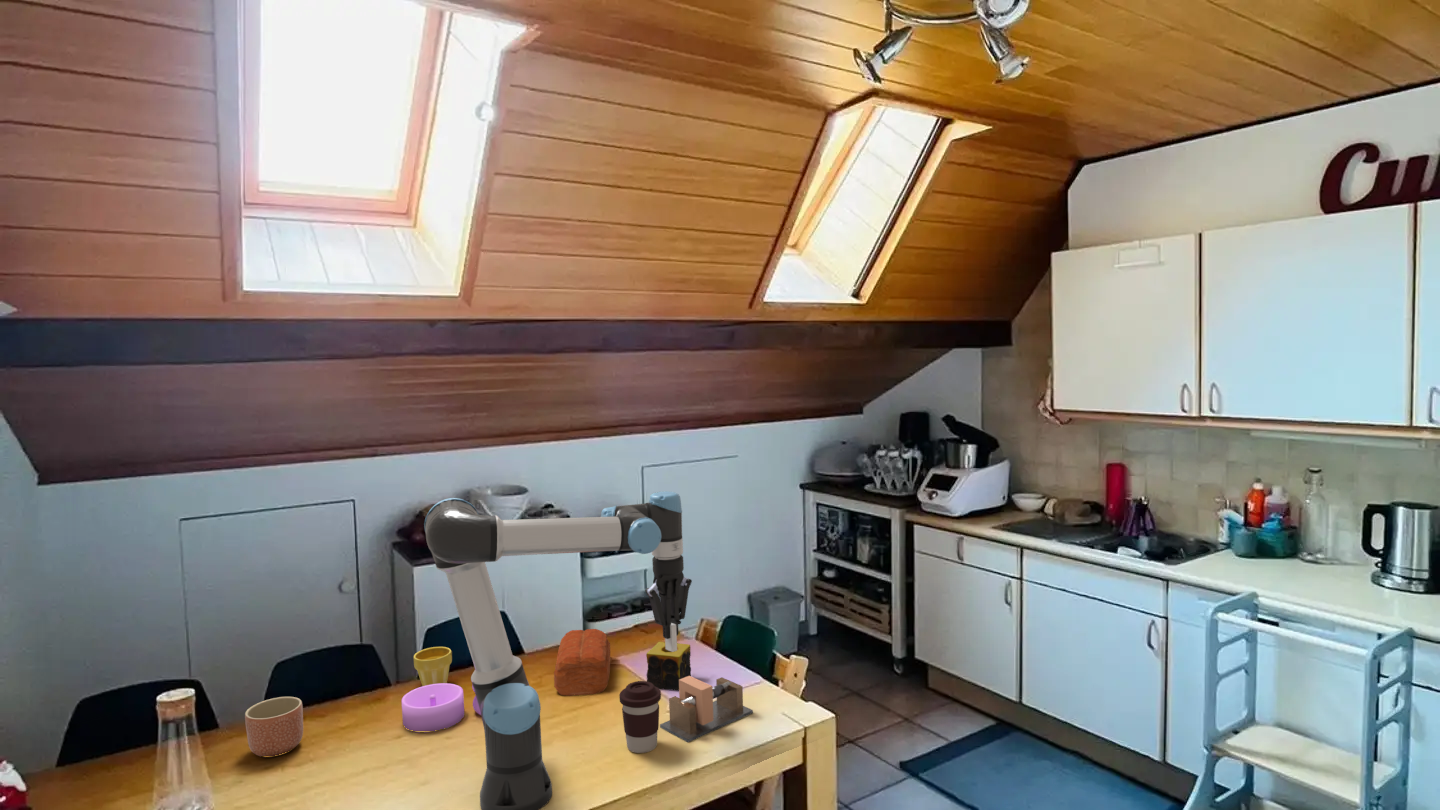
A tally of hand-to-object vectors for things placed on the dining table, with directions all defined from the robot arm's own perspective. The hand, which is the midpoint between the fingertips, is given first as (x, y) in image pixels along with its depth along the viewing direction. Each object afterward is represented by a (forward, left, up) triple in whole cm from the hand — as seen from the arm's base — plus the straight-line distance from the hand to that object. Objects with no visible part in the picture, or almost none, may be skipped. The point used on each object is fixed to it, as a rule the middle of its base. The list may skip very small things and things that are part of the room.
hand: (671, 649), depth 204 cm
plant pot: (-31, +72, -22) cm, 81 cm away
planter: (-74, +64, -22) cm, 100 cm away
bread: (+4, +47, -22) cm, 52 cm away
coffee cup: (-9, +1, -22) cm, 24 cm away
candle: (+18, +25, -22) cm, 38 cm away
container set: (-35, +50, -22) cm, 65 cm away
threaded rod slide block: (+11, 0, -22) cm, 24 cm away
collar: (+7, 0, -20) cm, 21 cm away
